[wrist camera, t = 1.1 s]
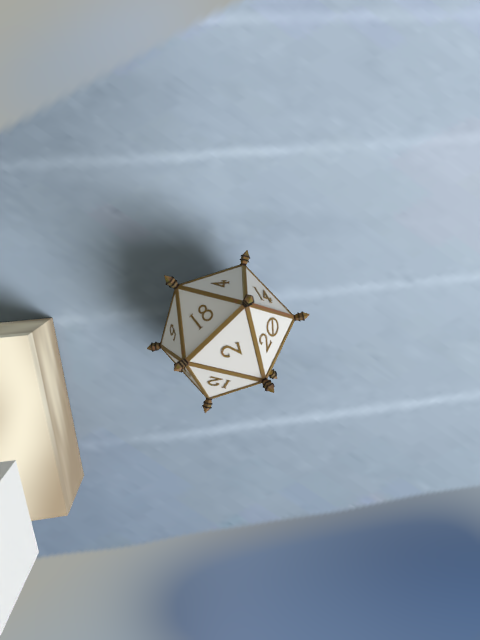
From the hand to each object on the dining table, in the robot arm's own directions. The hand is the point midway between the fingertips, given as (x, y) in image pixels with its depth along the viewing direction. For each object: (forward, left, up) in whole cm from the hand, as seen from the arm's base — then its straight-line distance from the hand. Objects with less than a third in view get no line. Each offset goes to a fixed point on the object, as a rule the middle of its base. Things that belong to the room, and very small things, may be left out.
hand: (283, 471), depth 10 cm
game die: (0, 0, -18) cm, 17 cm away
